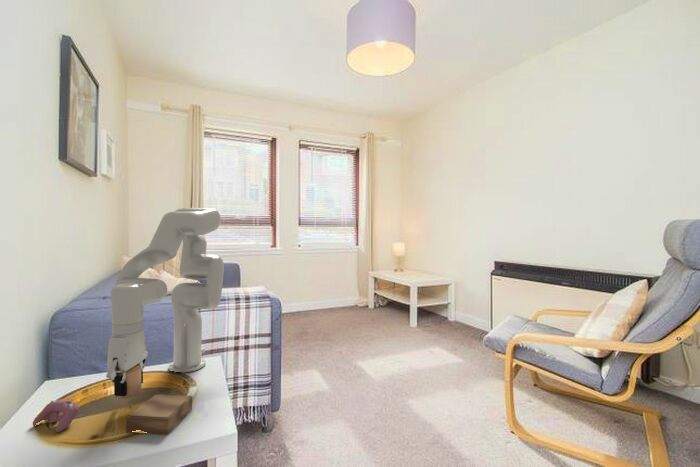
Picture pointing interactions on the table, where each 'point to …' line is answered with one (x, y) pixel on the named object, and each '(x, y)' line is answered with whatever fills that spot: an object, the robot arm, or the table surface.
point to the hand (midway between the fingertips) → (129, 388)
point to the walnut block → (159, 414)
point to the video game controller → (58, 413)
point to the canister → (133, 381)
